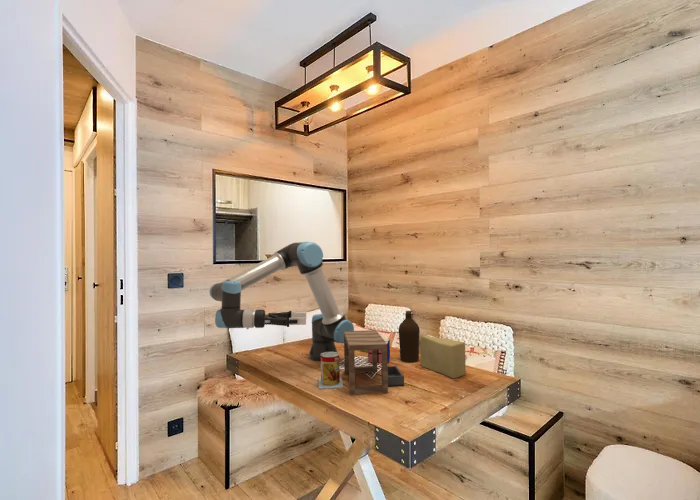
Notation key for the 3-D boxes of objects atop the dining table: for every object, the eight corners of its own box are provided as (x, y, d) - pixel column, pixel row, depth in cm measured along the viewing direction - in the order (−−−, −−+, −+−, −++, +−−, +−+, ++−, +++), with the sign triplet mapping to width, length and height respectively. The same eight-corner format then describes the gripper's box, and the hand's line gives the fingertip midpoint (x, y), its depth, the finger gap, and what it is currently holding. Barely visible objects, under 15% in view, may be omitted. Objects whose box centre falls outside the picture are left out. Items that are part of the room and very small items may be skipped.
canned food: (341, 384, 154) (341, 355, 154) (322, 386, 152) (322, 357, 152) (337, 378, 162) (337, 351, 162) (319, 380, 160) (319, 352, 160)
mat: (318, 379, 163) (318, 378, 163) (341, 378, 163) (341, 377, 163) (318, 389, 151) (318, 388, 151) (343, 388, 152) (343, 387, 152)
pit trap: (381, 375, 166) (381, 366, 166) (396, 374, 167) (396, 365, 167) (387, 386, 152) (387, 376, 152) (404, 385, 153) (404, 376, 153)
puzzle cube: (388, 364, 184) (387, 343, 184) (368, 363, 186) (367, 343, 186) (390, 358, 194) (389, 339, 194) (371, 357, 196) (370, 338, 196)
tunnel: (344, 372, 171) (343, 331, 171) (376, 371, 173) (376, 330, 173) (350, 394, 144) (349, 345, 144) (388, 392, 146) (387, 344, 146)
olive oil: (404, 363, 183) (403, 313, 183) (395, 358, 193) (394, 310, 194) (423, 361, 186) (423, 311, 187) (414, 356, 196) (413, 308, 197)
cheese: (414, 367, 177) (413, 336, 177) (428, 363, 183) (427, 333, 183) (453, 379, 160) (452, 344, 160) (466, 374, 166) (466, 341, 166)
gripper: (258, 322, 167) (306, 321, 169) (249, 334, 142) (305, 333, 144) (259, 305, 167) (306, 305, 169) (250, 314, 142) (305, 314, 145)
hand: (306, 318), depth 157 cm, fingers open, 13 cm apart
